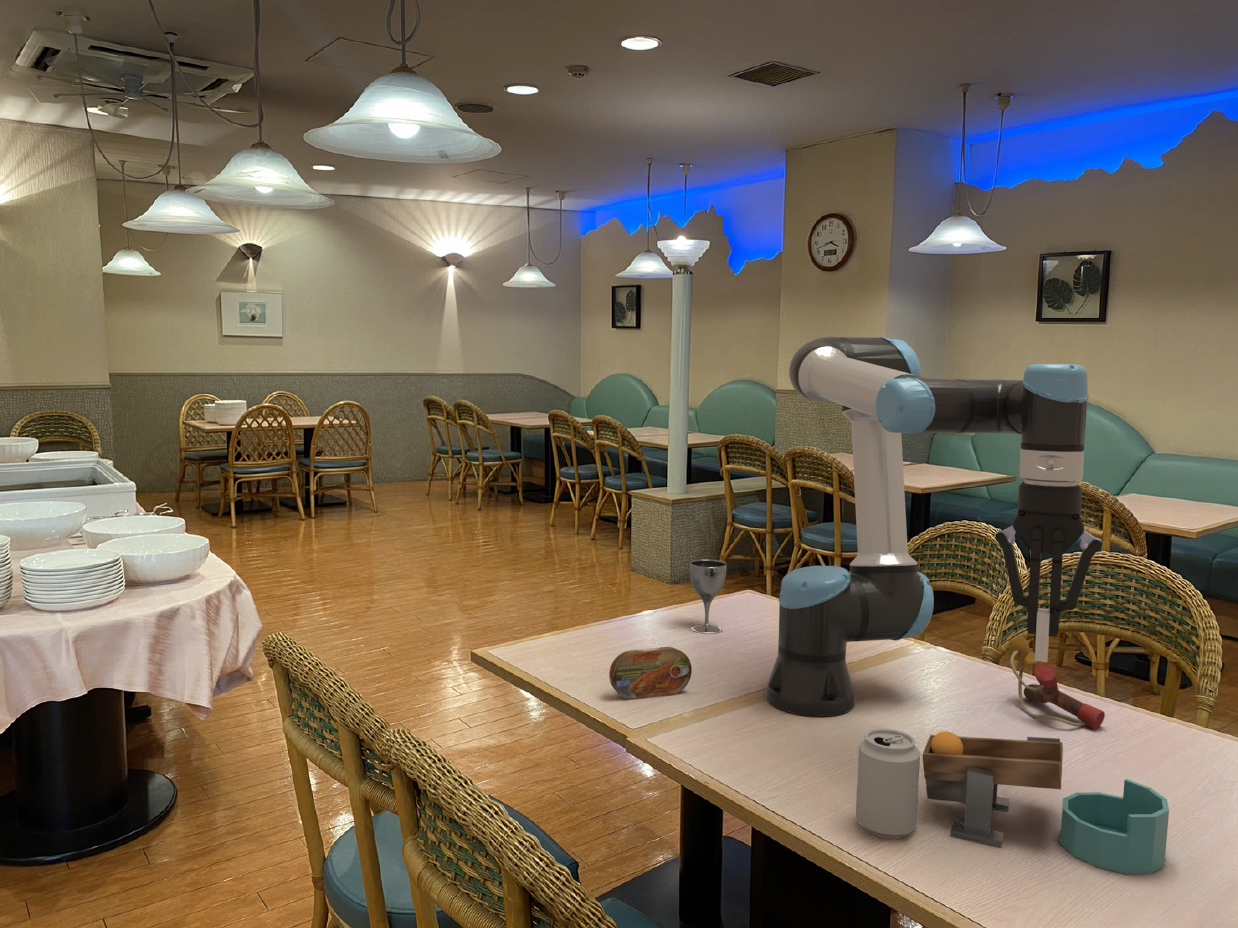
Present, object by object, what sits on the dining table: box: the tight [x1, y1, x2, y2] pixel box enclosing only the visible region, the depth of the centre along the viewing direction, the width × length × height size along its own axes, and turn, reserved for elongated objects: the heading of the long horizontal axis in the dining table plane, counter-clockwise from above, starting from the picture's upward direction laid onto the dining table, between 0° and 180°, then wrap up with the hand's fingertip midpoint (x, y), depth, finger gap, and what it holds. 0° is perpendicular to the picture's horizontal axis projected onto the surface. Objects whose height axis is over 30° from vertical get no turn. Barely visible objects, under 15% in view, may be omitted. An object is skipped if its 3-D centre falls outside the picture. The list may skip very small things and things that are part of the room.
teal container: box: [1059, 778, 1170, 875], centre depth 112 cm, size 11×11×7 cm
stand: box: [949, 767, 1010, 849], centre depth 119 cm, size 6×13×8 cm, turn 153°
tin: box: [608, 646, 693, 701], centre depth 162 cm, size 15×3×8 cm, turn 109°
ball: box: [931, 731, 963, 755], centre depth 120 cm, size 4×4×4 cm
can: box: [855, 728, 921, 839], centre depth 116 cm, size 8×8×12 cm
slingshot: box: [1007, 636, 1106, 730], centre depth 156 cm, size 17×10×15 cm
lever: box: [922, 734, 1064, 804], centre depth 120 cm, size 16×13×6 cm
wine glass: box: [689, 558, 727, 633], centre depth 202 cm, size 8×8×15 cm
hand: (1041, 658), depth 121 cm, fingers closed
